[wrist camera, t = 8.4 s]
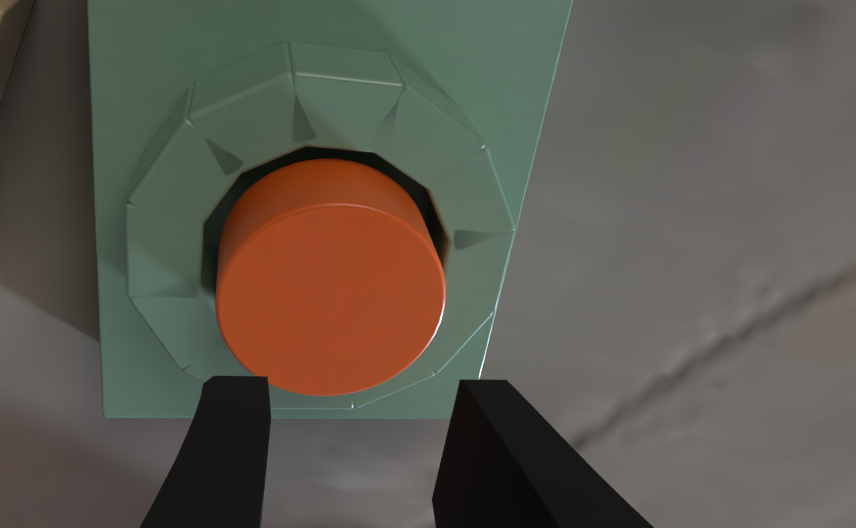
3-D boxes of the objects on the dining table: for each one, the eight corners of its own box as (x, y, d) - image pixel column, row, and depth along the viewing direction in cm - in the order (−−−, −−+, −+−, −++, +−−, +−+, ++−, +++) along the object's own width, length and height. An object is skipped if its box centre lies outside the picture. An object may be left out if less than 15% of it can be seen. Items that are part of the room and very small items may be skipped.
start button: (409, 340, 15) (426, 398, 14) (215, 334, 14) (210, 397, 13) (442, 166, 13) (467, 211, 12) (223, 147, 12) (219, 194, 11)
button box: (450, 362, 20) (489, 476, 17) (117, 356, 18) (86, 482, 15) (541, -48, 15) (622, -6, 12) (105, -119, 13) (56, -91, 10)
